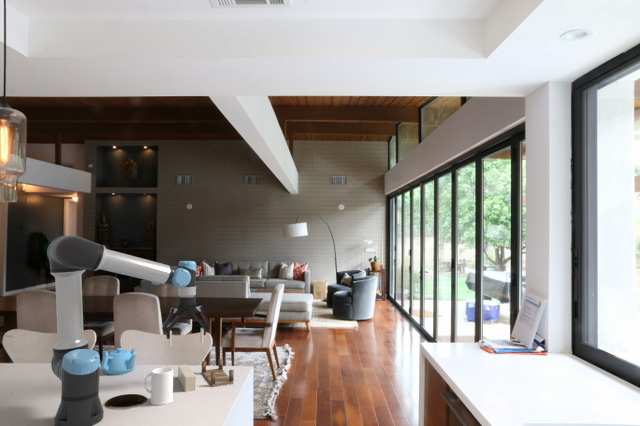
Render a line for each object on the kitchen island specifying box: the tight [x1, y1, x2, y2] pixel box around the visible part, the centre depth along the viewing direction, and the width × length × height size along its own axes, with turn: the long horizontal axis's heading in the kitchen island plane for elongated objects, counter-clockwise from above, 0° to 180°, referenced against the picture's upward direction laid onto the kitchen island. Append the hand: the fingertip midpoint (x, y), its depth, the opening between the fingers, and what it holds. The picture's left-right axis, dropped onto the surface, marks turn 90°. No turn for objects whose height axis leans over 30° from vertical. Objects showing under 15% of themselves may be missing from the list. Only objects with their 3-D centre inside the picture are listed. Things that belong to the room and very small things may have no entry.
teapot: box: [100, 347, 137, 376], centre depth 214 cm, size 15×15×11 cm
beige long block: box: [177, 363, 197, 393], centre depth 196 cm, size 20×4×6 cm, turn 26°
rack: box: [201, 358, 235, 388], centre depth 204 cm, size 22×10×6 cm, turn 26°
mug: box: [143, 367, 174, 406], centre depth 175 cm, size 12×8×12 cm
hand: (186, 344), depth 196 cm, fingers open, 13 cm apart
